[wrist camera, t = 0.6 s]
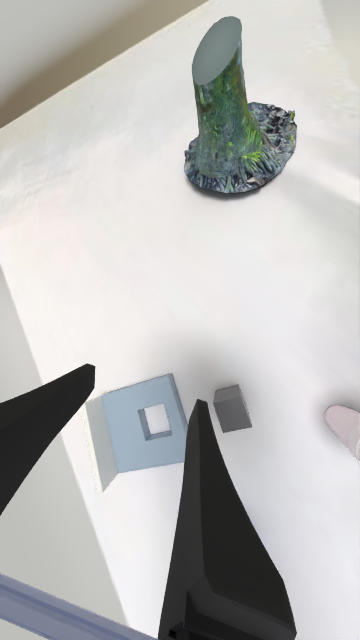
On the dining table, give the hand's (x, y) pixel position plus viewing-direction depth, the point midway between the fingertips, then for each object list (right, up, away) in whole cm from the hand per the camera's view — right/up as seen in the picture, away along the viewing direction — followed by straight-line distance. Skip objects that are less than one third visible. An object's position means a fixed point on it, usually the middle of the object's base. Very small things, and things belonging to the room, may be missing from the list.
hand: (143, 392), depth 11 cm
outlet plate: (-4, -15, +21) cm, 26 cm away
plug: (+11, -9, +18) cm, 23 cm away
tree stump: (+14, +36, +22) cm, 45 cm away
